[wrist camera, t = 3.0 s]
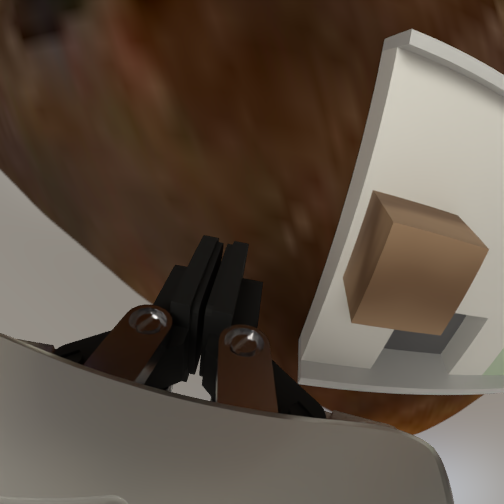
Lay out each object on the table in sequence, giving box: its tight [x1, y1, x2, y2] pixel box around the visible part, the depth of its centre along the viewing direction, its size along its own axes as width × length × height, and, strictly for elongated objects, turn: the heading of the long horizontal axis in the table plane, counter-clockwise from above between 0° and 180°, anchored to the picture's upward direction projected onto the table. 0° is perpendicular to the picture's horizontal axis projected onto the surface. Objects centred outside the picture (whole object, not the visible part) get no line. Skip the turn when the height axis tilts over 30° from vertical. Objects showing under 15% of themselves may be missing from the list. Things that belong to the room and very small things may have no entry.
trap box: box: [298, 29, 504, 395], centre depth 16 cm, size 20×22×4 cm
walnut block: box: [343, 190, 489, 335], centre depth 14 cm, size 5×5×4 cm
